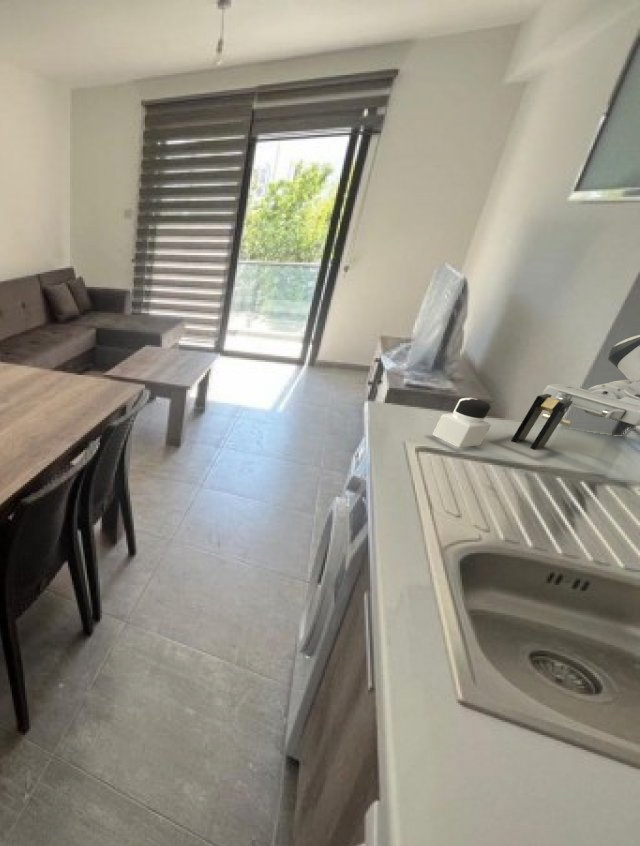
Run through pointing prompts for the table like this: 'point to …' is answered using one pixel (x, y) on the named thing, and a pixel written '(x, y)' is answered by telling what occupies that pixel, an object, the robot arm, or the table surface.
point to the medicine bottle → (464, 423)
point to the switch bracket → (549, 425)
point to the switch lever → (550, 406)
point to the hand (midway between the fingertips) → (580, 406)
